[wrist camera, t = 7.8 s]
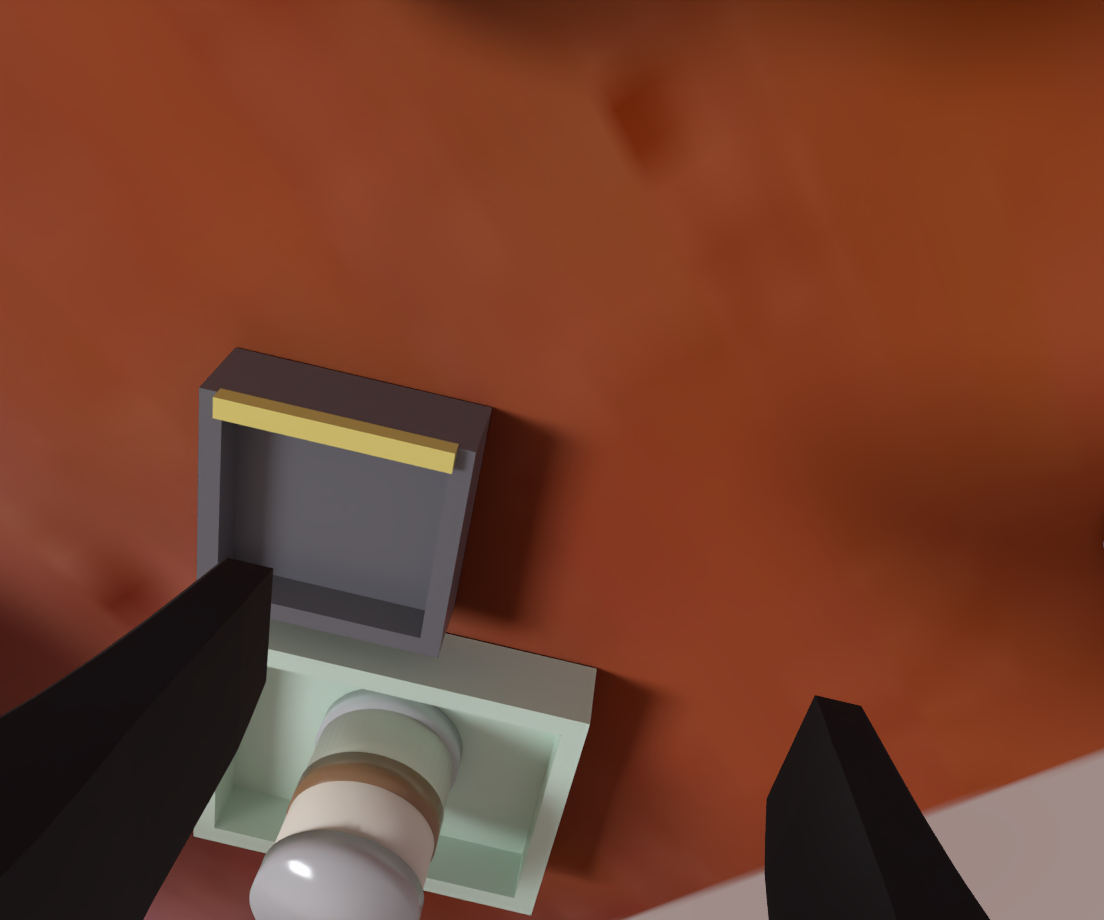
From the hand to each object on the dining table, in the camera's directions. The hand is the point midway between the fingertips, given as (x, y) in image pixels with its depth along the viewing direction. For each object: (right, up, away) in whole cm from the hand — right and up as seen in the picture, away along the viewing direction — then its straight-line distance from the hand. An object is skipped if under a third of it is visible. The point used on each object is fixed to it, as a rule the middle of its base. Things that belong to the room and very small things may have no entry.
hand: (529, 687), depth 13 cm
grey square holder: (-5, +2, +11) cm, 13 cm away
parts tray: (-4, -5, +16) cm, 17 cm away
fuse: (-4, -5, +15) cm, 17 cm away
